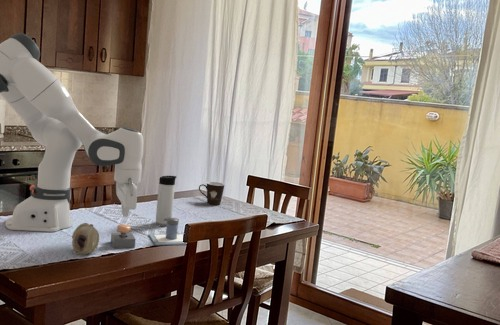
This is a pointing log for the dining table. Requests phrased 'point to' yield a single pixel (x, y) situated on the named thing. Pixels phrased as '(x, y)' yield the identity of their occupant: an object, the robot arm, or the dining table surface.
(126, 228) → the button
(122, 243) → the button housing
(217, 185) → the coffee mug
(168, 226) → the blue gray capped jar
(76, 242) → the beige rounded piece
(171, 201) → the travel mug
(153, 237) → the board
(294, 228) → the dining table surface
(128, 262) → the dining table surface
